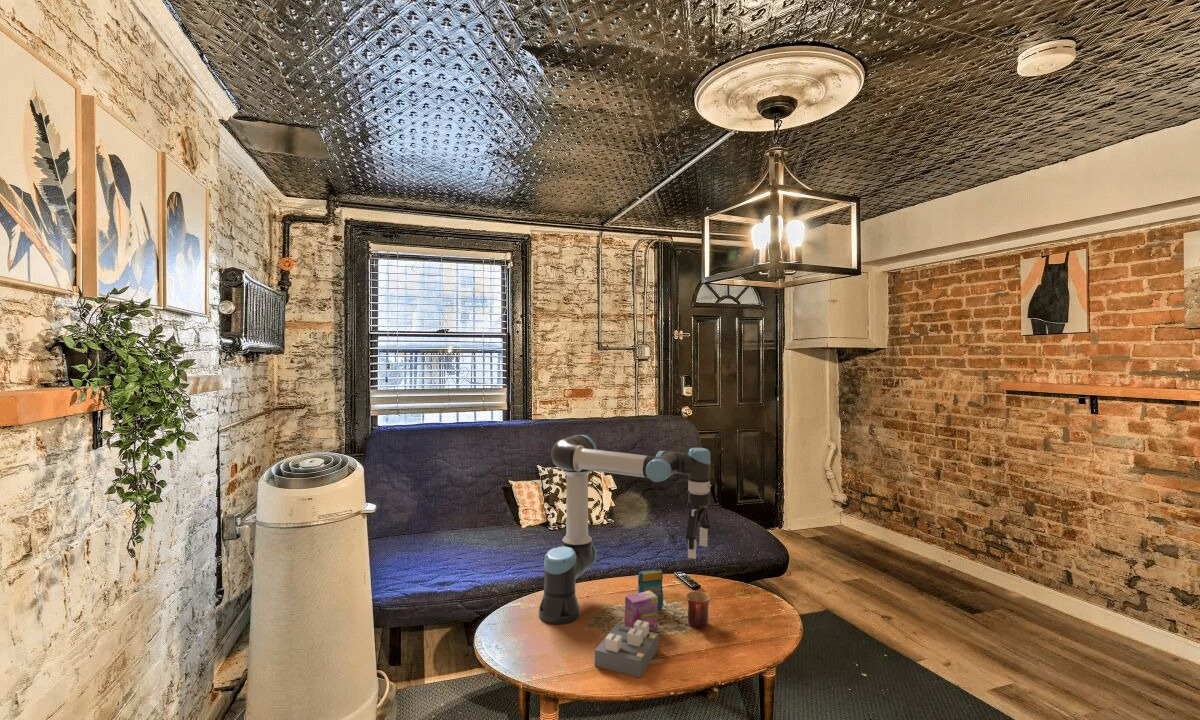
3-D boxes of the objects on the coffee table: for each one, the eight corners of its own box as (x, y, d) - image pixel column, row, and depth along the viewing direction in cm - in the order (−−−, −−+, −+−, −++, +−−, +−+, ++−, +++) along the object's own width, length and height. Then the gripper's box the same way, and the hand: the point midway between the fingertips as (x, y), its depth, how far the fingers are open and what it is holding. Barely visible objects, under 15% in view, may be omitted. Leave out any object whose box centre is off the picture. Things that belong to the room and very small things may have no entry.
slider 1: (605, 649, 171) (605, 637, 171) (609, 644, 174) (609, 632, 174) (617, 652, 169) (617, 640, 169) (621, 646, 173) (621, 634, 172)
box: (632, 636, 190) (633, 602, 189) (624, 628, 195) (624, 595, 194) (657, 629, 194) (658, 596, 194) (649, 622, 199) (649, 589, 199)
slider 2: (633, 635, 180) (633, 623, 180) (637, 630, 183) (637, 618, 183) (645, 637, 178) (645, 626, 178) (648, 632, 182) (648, 621, 182)
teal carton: (660, 607, 211) (660, 568, 211) (664, 612, 207) (665, 572, 207) (636, 610, 208) (637, 571, 208) (640, 615, 204) (641, 575, 204)
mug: (686, 617, 203) (686, 590, 203) (710, 620, 202) (710, 592, 201) (684, 633, 192) (685, 604, 191) (710, 636, 190) (710, 607, 190)
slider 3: (627, 644, 174) (627, 632, 174) (631, 638, 178) (631, 627, 178) (639, 646, 173) (639, 634, 173) (642, 641, 176) (643, 629, 176)
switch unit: (594, 665, 171) (594, 649, 171) (616, 638, 188) (616, 623, 187) (640, 677, 165) (640, 660, 165) (658, 648, 182) (658, 633, 181)
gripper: (698, 501, 182) (697, 565, 182) (718, 486, 204) (717, 543, 205) (677, 498, 185) (675, 561, 186) (699, 483, 208) (698, 539, 208)
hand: (697, 551), depth 195 cm, fingers open, 13 cm apart
